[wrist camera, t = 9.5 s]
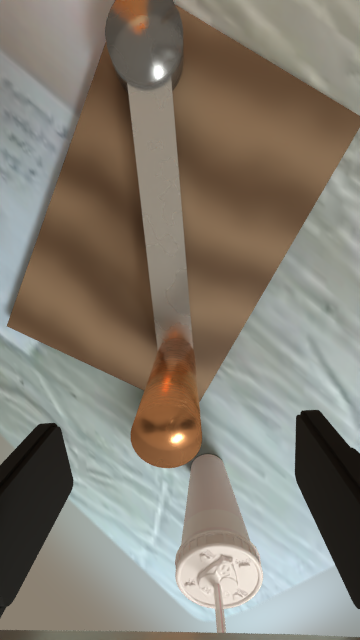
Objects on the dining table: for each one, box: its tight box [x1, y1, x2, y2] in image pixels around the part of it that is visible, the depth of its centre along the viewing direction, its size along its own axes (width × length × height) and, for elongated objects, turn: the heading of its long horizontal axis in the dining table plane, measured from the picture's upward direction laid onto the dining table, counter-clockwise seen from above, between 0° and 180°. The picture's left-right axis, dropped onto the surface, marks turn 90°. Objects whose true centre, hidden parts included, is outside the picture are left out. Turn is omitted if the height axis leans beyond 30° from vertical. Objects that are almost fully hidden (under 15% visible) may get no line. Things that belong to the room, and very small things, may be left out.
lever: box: [105, 0, 202, 468], centre depth 14 cm, size 26×5×12 cm, turn 5°
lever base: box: [7, 5, 360, 402], centre depth 21 cm, size 28×20×1 cm
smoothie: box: [175, 454, 263, 633], centre depth 20 cm, size 6×6×14 cm
